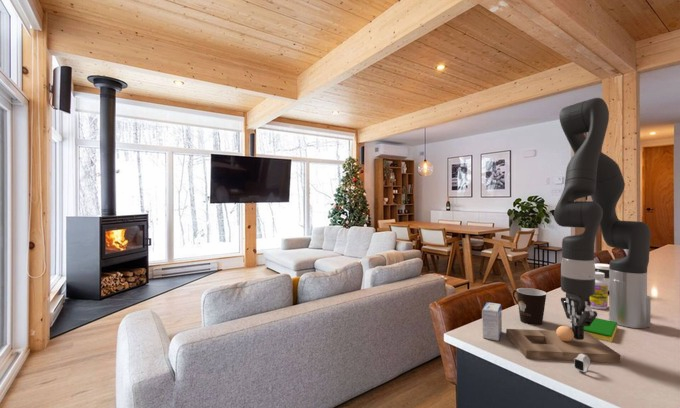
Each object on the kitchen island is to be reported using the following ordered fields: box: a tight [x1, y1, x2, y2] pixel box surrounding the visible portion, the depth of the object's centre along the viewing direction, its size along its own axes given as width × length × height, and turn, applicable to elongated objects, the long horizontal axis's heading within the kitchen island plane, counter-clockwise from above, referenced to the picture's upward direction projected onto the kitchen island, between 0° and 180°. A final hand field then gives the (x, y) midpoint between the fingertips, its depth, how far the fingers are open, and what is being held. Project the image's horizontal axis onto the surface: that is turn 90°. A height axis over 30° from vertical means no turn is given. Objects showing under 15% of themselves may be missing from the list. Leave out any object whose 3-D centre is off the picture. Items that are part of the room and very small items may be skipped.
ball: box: [555, 325, 574, 342], centre depth 90 cm, size 4×4×4 cm
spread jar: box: [594, 263, 610, 295], centre depth 142 cm, size 12×11×12 cm
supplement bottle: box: [590, 272, 609, 310], centre depth 122 cm, size 7×7×13 cm
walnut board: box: [505, 328, 621, 364], centre depth 90 cm, size 22×14×2 cm, turn 82°
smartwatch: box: [573, 354, 591, 373], centre depth 78 cm, size 4×2×4 cm, turn 118°
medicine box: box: [481, 302, 503, 341], centre depth 99 cm, size 8×4×9 cm, turn 148°
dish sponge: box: [584, 317, 618, 343], centre depth 101 cm, size 7×14×2 cm, turn 135°
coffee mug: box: [512, 287, 547, 326], centre depth 111 cm, size 12×9×10 cm
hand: (577, 338), depth 89 cm, fingers closed
